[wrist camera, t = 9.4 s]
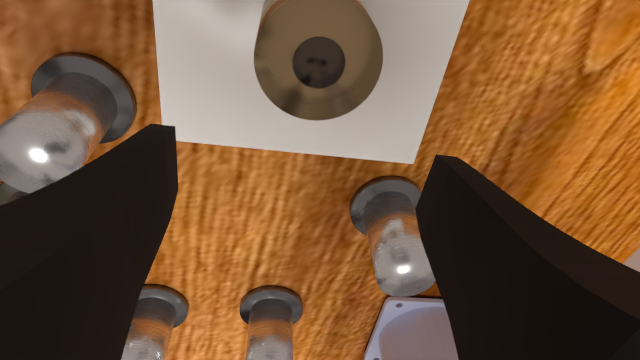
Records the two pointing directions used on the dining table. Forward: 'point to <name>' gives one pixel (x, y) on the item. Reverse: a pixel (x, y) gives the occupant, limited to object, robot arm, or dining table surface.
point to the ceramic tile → (266, 118)
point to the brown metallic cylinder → (317, 56)
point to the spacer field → (160, 301)
